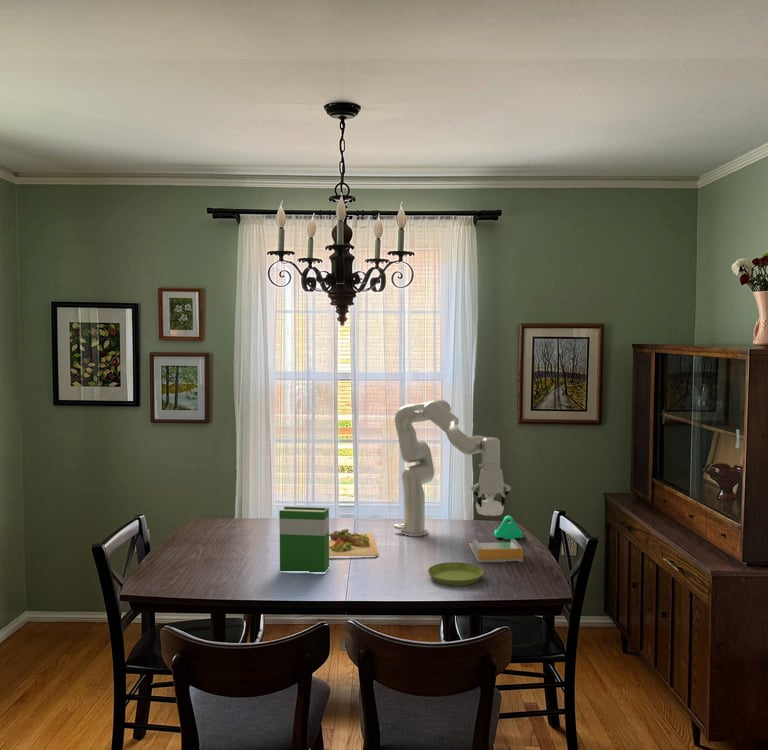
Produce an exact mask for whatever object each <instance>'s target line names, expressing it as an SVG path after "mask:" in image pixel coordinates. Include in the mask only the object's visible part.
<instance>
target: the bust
mask: <svg viewBox="0 0 768 750" xmlns="http://www.w3.org/2000/svg"><path fill="white" fill-rule="evenodd" d="M483 495H484V498H485V500H483V499H482V507H480V504H479V505H478V503H477V502H476V503H475V508H476V512H477V513H478V515H483V516H484V517H487V516H493V517H495V516H501V515H502V514H503V512H504V507H505V504H503V506H502V504H501V503H500V501H497V500H494V498H495V496H497V494H483Z"/></svg>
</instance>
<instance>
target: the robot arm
mask: <svg viewBox="0 0 768 750" xmlns="http://www.w3.org/2000/svg"><path fill="white" fill-rule="evenodd" d="M451 410H452V408H451V405H450V403H448V401H446V400H444V399H439V400H438V399H436V400H430V401H427V402H420V403H411V404H406V405H404V406H401V407H400V408H399V409H398V410H397V412H396V413H395V416H394V424H395V429H396V433H397V437H398V443H399V449H400V456H401V458H402V460H403V461H404V462H405V463H408V464H409V463H410V464H411V463H415V464H413V465H410V466H407V467H406V468H405V469H404V470H403V472H402V473H401V474H402V475H401V480H402V485H403V500H404V501H403V502H404V503H403V505H404V507H403V509H404V510H403V511H404V512H403V513H404V515H403V519H404V521H403V522H402V523H401V524H394V525H393V526H394V530H397V531H398V530H400V533H403V534H405V535H404V536H406V535H410V536H409V537H423V536H422V535H424V536H426V534H427V535H428V534H429V530H428V529H427V528H426V527H425V522H426V519H425V517H426V515H425V512H426V511H425V507H426V506H425V502H426V501H425V498H426V497H425V491H424V488H423V485H426V484H428V483H430V482H432V481H433V479H434V476H435V468H434V462H433V456H432V452H431V448H430V446H429V444H428V443H427V442H426V441H424V440H418V437H417V431H416V429H415V428H414V426H413V423H418V422H427V421H431V422H432V423H433V424H435V425H436V426H437V427H438V428H439V429H441V430H442V431H443V432H444V433H445V434H446V437H447V440H448V441H449V443H450V444H451V445H452V446H453V447H455V448H456V449H457V450H458V451H459V452H461V453H462V454H464V455H468V456H471V455H474V454H480V453H481V455H482V456H481V458H482V459H481V463H478V467H479V468H481V469H480V471H479V476H478V477H479V478H478V483H477V482H476V483H475V484H474V485H472V486H470V489H471V491H472V494H474V495H475V496H476V499H477V502H476V503H478V505H479V504H480V507H482V500H483V499H482V498H483V497H482V496H483V495H484V494H496V495H498V494H500V499H499V502H500V503H501V504H502V506H503V505H505V502H506V501H505V499H506V497H507V495H508V494H510V491H511V489H512V486H511V485H508V484H506V483H505V482H504V474H503V469H501V441H500V439H499V438H497V437H492V436H491V437H490V436H489V437H487V436H484V435H472V436H468V435H466V434H465V433H464V432H463V431H461V430H460V428H459V427H458V425H459V418H458V417H457V416H456V415H454V414H453V413H452V411H451ZM477 488H478V490H479V491H478V492H477V490H476V489H477ZM504 488H506V490H505V489H504ZM504 490H505V491H504ZM403 534H402V535H403Z"/></svg>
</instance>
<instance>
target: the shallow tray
mask: <svg viewBox="0 0 768 750" xmlns="http://www.w3.org/2000/svg"><path fill="white" fill-rule="evenodd" d="M468 546H469V548H470V549H471V551H472V553H473V555H474V556H475V558H476V560H477V562H478V563H504V562H505V563H506V561H509V562H508V563H510V561H519V562H524V549H523V547H522V546H521V545H520V544H519V542H518V541H517V540H516V538H514V539H511V540H510V542H509V541H508V542H507V541H505V542H504V541H503V542H479V541H478V540H477V539H472V542H469V543H468Z"/></svg>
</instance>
